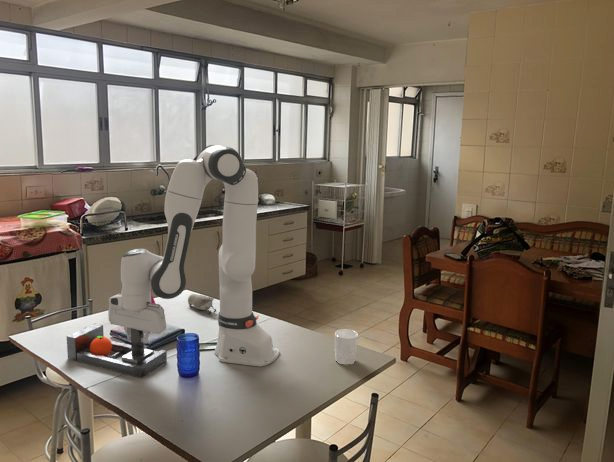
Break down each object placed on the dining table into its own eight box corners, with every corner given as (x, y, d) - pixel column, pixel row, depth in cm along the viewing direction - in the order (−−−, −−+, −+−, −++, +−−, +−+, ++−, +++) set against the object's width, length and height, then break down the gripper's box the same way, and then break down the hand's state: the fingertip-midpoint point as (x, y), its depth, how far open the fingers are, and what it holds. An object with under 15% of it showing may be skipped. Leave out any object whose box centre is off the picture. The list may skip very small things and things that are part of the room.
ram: (153, 362, 166) (153, 324, 163) (137, 372, 158) (136, 333, 156) (139, 358, 168) (138, 321, 165) (122, 368, 161) (120, 330, 158)
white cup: (339, 354, 178) (341, 327, 176) (360, 359, 174) (362, 332, 172) (329, 362, 171) (330, 334, 169) (350, 368, 167) (351, 340, 165)
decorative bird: (194, 304, 222) (194, 288, 221) (218, 313, 212) (218, 296, 211) (184, 307, 218) (184, 290, 216) (208, 317, 208) (208, 299, 207)
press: (166, 362, 167) (166, 339, 165) (141, 378, 155) (140, 354, 154) (96, 344, 177) (95, 323, 176) (67, 358, 166) (66, 336, 164)
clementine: (85, 355, 169) (84, 335, 168) (106, 349, 174) (105, 330, 173) (95, 363, 164) (94, 343, 162) (116, 357, 168) (115, 337, 167)
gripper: (170, 302, 158) (170, 343, 161) (118, 292, 165) (120, 332, 168) (157, 308, 152) (158, 351, 155) (104, 298, 160) (106, 338, 162)
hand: (137, 341), depth 162 cm, fingers closed on ram, 4 cm apart
